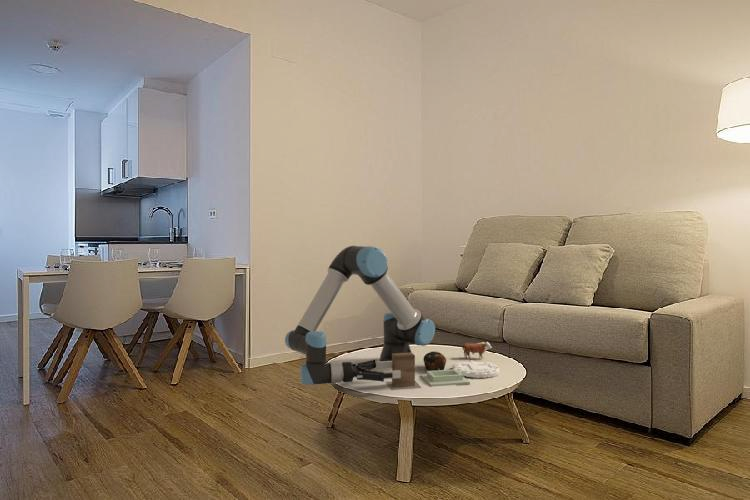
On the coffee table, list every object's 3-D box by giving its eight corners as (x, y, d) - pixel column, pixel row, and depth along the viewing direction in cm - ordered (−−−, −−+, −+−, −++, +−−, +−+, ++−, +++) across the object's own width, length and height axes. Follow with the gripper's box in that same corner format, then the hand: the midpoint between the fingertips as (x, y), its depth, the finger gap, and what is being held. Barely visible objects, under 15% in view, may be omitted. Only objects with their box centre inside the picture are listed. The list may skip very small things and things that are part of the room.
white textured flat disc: (501, 368, 228) (501, 362, 228) (497, 381, 209) (497, 374, 209) (455, 364, 234) (455, 358, 234) (448, 376, 215) (448, 369, 215)
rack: (420, 376, 214) (420, 369, 214) (457, 374, 218) (457, 367, 217) (431, 387, 201) (431, 379, 201) (470, 384, 204) (470, 376, 204)
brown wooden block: (392, 383, 204) (392, 353, 203) (411, 382, 206) (411, 352, 205) (394, 387, 200) (394, 356, 199) (414, 385, 201) (414, 355, 201)
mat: (385, 382, 206) (385, 382, 206) (414, 380, 209) (414, 380, 209) (391, 390, 197) (391, 389, 196) (421, 388, 199) (421, 387, 199)
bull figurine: (491, 360, 240) (492, 343, 239) (462, 359, 242) (462, 342, 241) (491, 358, 244) (491, 340, 244) (462, 357, 246) (462, 339, 246)
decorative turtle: (434, 375, 216) (432, 356, 216) (417, 368, 230) (416, 350, 230) (454, 371, 220) (452, 353, 220) (436, 365, 234) (435, 347, 234)
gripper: (337, 372, 209) (388, 369, 214) (346, 392, 185) (404, 388, 189) (337, 354, 209) (388, 351, 213) (346, 371, 185) (404, 368, 189)
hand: (396, 369), depth 201 cm, fingers open, 13 cm apart
